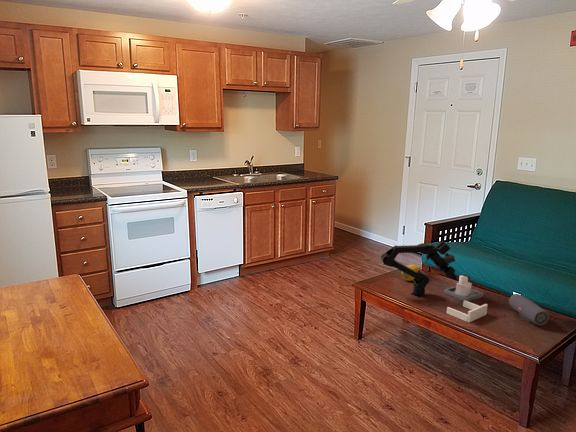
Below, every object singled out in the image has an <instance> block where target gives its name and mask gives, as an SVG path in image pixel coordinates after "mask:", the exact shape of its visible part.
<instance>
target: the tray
mask: <svg viewBox="0 0 576 432" xmlns="http://www.w3.org/2000/svg"><path fill="white" fill-rule="evenodd" d="M455 291H456V285H455V286H452V287H447V288H445V289H443V294H444V295H448V296H450V297H451V298H454V299H456V300H459V301H462V302H463V301H464V300H465V301H468V302H471V301H475V300H477V299H482V298H483V296H484V293H483V292H480V291H478V290H475V289H472V288H471V293H470V294H469V295H468V296H467V297H465V296H461V295H458V294H456V293H455Z"/></svg>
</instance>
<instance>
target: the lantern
mask: <svg viewBox="0 0 576 432" xmlns="http://www.w3.org/2000/svg"><path fill="white" fill-rule="evenodd" d="M406 266H407V267H409V268H411V269H413V270H415V271H418V270H421V271H423V270H425V267H422V266H418V265H416V264H413V263H412V264H409V265H406ZM400 278H403V279H404V280H405V281H407V282H411V281H412V282H413V279H415V278H414V277H412V276H410V275H408V274H406V273H404V272H402V271H401V276H399V277H398V279H400Z"/></svg>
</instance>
